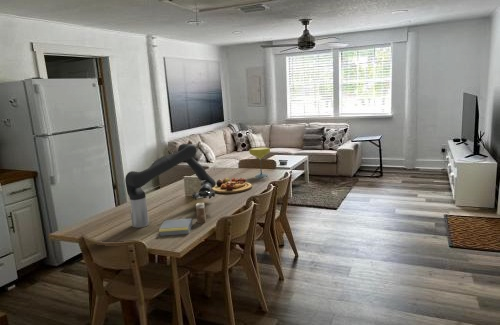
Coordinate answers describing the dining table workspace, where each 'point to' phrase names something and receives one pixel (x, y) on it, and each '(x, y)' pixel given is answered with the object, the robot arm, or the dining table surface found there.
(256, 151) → the cocktail glass
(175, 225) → the dock
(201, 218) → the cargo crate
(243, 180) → the wooden plate with food
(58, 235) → the dining table surface
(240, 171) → the dining table surface
